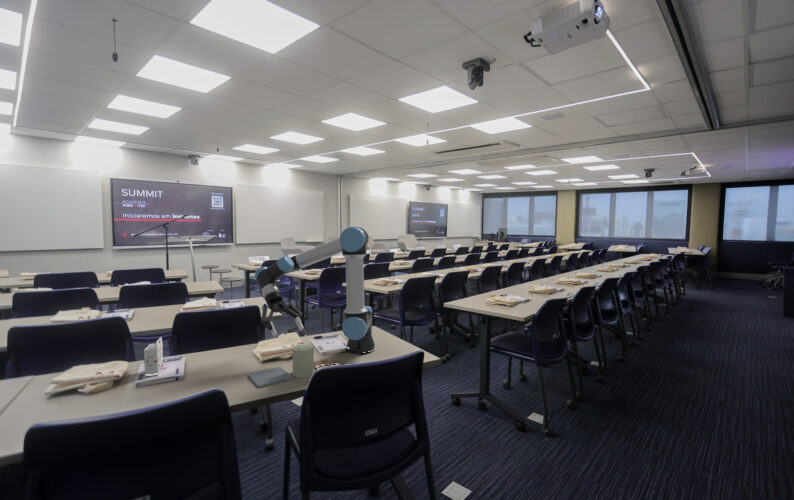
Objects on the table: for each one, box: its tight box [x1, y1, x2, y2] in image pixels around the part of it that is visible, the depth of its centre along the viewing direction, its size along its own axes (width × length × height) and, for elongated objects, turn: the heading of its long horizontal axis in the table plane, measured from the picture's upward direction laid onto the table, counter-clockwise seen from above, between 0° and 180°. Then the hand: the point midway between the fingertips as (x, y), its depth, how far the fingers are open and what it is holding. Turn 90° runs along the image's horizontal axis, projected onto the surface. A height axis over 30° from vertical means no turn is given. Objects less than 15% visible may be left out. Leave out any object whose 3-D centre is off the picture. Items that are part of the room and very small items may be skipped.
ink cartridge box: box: [143, 336, 164, 375], centre depth 148 cm, size 9×5×15 cm, turn 22°
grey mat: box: [247, 366, 294, 389], centre depth 146 cm, size 14×14×1 cm
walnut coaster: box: [314, 357, 338, 370], centre depth 160 cm, size 11×11×1 cm
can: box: [291, 343, 315, 378], centre depth 151 cm, size 9×9×12 cm
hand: (289, 332), depth 157 cm, fingers open, 13 cm apart
